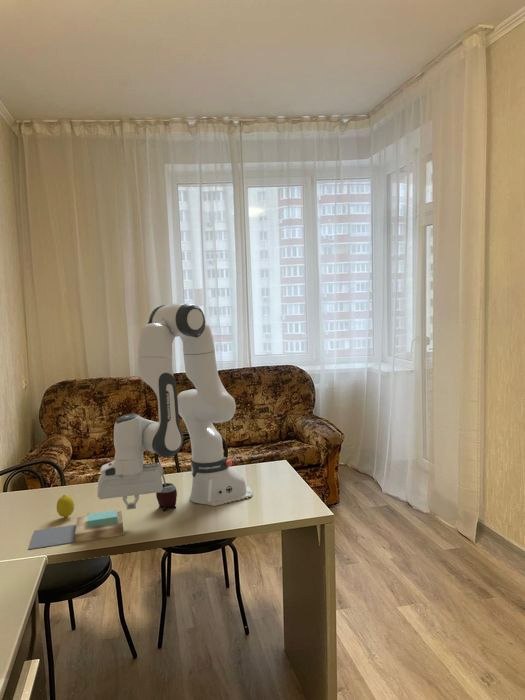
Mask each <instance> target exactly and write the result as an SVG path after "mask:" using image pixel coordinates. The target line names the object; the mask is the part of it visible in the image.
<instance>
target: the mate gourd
mask: <svg viewBox="0 0 525 700" xmlns="http://www.w3.org/2000/svg"><path fill="white" fill-rule="evenodd" d="M156 463H158V464H159V465H161V464H160V463H159V462H158V461H157V462H156ZM161 478H162V482H163V483H162V485H163V489H162V491H161V492H158V493H155V496H156V500H157V502H158V509H163V510H162V512H166V511H168V510H169V509H177V506H176V505H177V499H178V498H177V497H178V491H177V488H176V486H175V484H174V483H171V482H167V483H166V479H165V473H163V474H162V476H161Z"/></svg>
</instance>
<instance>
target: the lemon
mask: <svg viewBox="0 0 525 700" xmlns="http://www.w3.org/2000/svg"><path fill="white" fill-rule="evenodd" d="M74 510H75V502H74V500H73V497H71V496H69V495H67V494H63V495H62V496H60V497H59V499H57V502H56V512H57V514H58V515H59V516H61V517H62V518H64V519H67V518H68V517H70V516H71V515H72V514H73V513H74Z"/></svg>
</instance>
